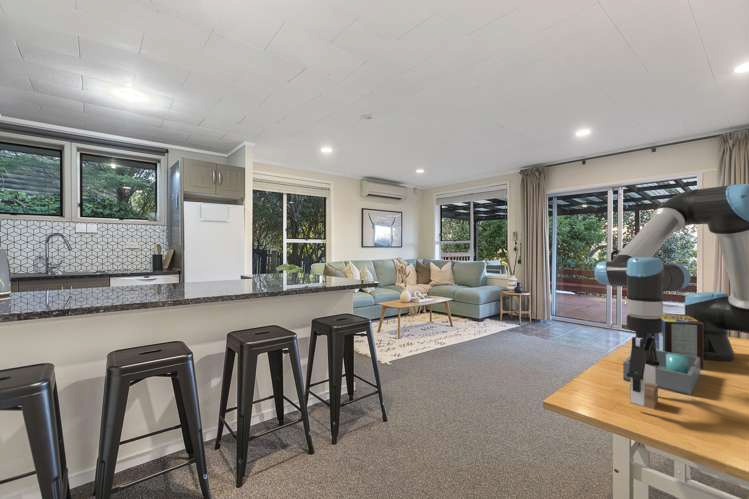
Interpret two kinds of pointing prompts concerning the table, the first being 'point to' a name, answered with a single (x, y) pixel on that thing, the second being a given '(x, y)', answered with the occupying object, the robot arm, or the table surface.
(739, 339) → the table surface
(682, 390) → the tote
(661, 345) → the protein box
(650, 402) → the walnut cube
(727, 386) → the table surface
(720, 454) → the table surface
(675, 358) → the teal cylinder
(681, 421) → the table surface
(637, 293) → the robot arm
